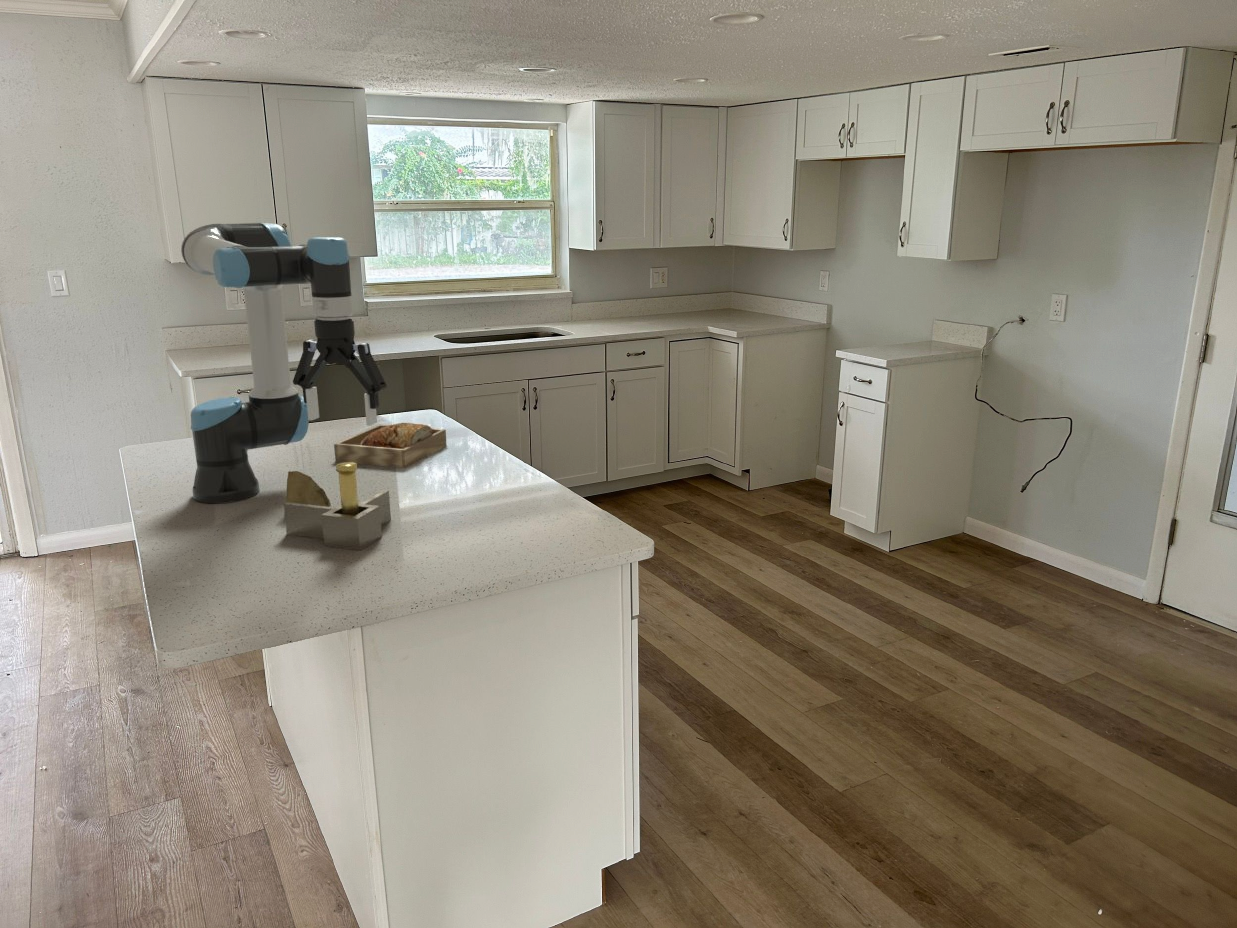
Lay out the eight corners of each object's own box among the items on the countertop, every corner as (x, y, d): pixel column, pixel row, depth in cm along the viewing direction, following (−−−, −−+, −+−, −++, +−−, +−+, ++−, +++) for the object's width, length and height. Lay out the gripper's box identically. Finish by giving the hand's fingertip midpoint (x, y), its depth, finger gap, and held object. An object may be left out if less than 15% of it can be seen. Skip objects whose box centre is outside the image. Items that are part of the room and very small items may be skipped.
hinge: (276, 540, 190) (272, 509, 188) (326, 512, 207) (324, 483, 205) (360, 550, 185) (357, 518, 183) (405, 521, 202) (403, 491, 200)
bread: (402, 468, 243) (400, 432, 240) (348, 461, 249) (345, 426, 247) (443, 449, 261) (442, 416, 258) (392, 443, 268) (390, 411, 265)
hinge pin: (338, 539, 188) (331, 466, 183) (349, 532, 192) (343, 461, 187) (355, 541, 187) (349, 468, 182) (366, 534, 191) (360, 463, 186)
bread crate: (335, 461, 248) (333, 444, 247) (381, 440, 270) (379, 424, 269) (405, 467, 242) (404, 450, 241) (446, 445, 264) (445, 429, 263)
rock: (332, 491, 215) (289, 489, 212) (333, 470, 208) (287, 467, 206) (328, 529, 208) (283, 527, 206) (328, 508, 202) (282, 506, 199)
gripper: (268, 317, 176) (279, 420, 182) (379, 323, 169) (386, 430, 176) (291, 312, 183) (301, 412, 189) (399, 318, 176) (406, 421, 182)
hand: (342, 421), depth 182 cm, fingers open, 13 cm apart
